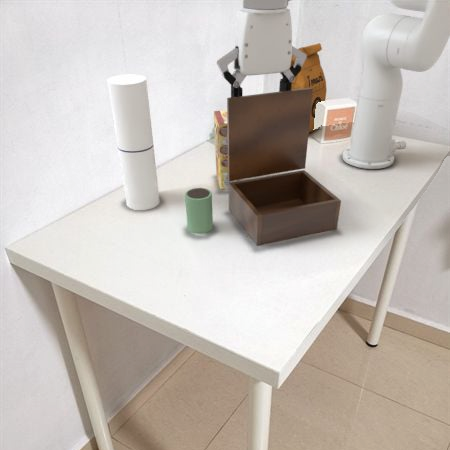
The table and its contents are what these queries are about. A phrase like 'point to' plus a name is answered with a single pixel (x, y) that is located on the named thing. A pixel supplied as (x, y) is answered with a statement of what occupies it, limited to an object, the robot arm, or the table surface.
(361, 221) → the table surface
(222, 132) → the candy box
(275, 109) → the chest lid
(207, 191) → the pencil cup
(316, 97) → the coffee package
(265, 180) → the chest
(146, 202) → the cylindrical container
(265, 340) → the table surface
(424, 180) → the table surface
